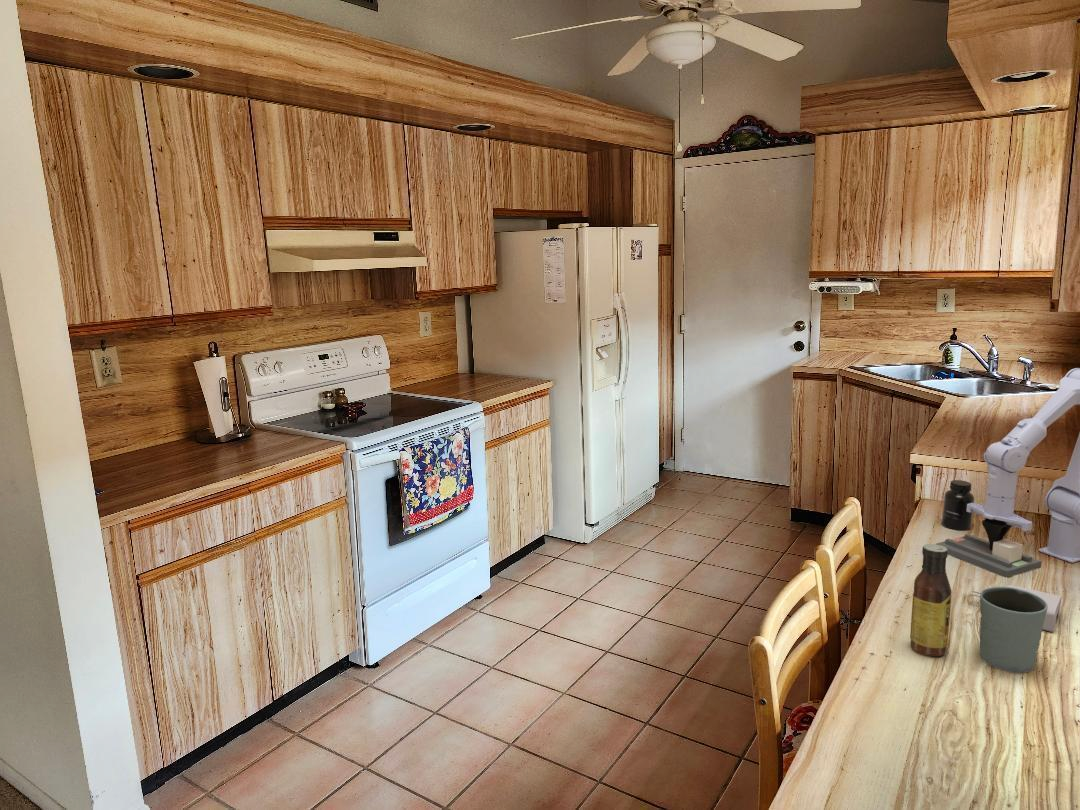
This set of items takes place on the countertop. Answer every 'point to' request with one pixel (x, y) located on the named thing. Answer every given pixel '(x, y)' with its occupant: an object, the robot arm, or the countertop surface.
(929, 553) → the sauce bottle
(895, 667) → the countertop surface
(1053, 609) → the charger
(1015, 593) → the grey cup
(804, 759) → the countertop surface
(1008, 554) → the slider knob
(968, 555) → the switch track
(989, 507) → the robot arm
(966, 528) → the supplement bottle
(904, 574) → the countertop surface
